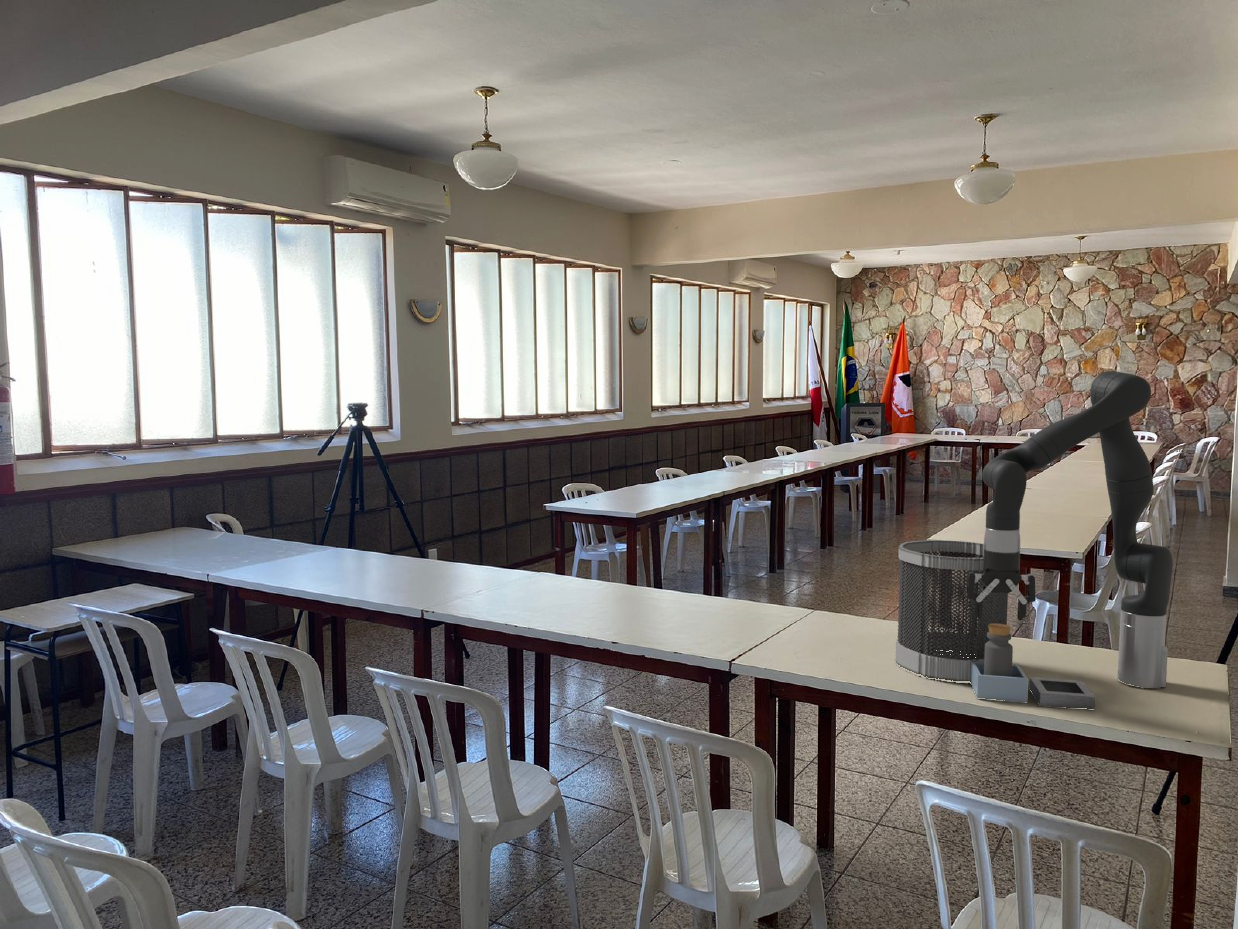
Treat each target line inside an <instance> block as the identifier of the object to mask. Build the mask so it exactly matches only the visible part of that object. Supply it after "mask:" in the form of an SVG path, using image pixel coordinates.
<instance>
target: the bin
mask: <svg viewBox="0 0 1238 929" xmlns="http://www.w3.org/2000/svg"><path fill="white" fill-rule="evenodd" d="M970 682H971V684H972V687H973V689H974V691H975V693H974V695H975V694H976V696H977V698H985V699H996V700H1003V701H1002V702H1004V700H1005V701H1014V702H1013V703H1017V702H1027V703H1028V700H1029V699H1028V696H1029V693H1028V692H1029V678H1028V676H1027V675H1026V673H1025V671H1024V670H1023V669H1022V668H1021V666H1020V665H1019V664H1012V677H1006V676H992V675H984V663H983V662H971V680H970ZM972 687H971V688H972ZM973 689H972V690H973ZM974 691H973V692H974ZM976 696H975V697H976ZM977 698H976V699H977Z"/></svg>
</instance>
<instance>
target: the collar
mask: <svg viewBox="0 0 1238 929" xmlns="http://www.w3.org/2000/svg"><path fill="white" fill-rule="evenodd" d="M1029 688H1030V690H1031V691H1032V693H1033V695H1034V696H1033V695H1032V696H1033V698H1034V697H1035V698H1036V699H1035V698H1034V699H1035V701H1036V700H1037V701H1036V702H1038V703H1039V704H1038V703H1037V704H1038V705H1040V706H1039V707H1043V706H1047V707H1046V708H1056V707H1066V708H1065V709H1068V708H1087V709H1095V710H1096V700H1097V697H1096V696H1095V695H1094V693H1093V692H1092V691H1091V690H1090V689H1089V688H1088V686H1087V685H1086V684H1085V683H1084V682H1083V681H1082V680H1074V679H1059V678H1058V679H1057V678H1046V677H1032V676H1029V682H1028V689H1029ZM1030 690H1029V691H1030ZM1032 693H1031V694H1032ZM1049 706H1050V707H1049Z"/></svg>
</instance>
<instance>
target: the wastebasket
mask: <svg viewBox="0 0 1238 929" xmlns="http://www.w3.org/2000/svg"><path fill="white" fill-rule="evenodd" d="M983 544H984V543H981V542H972V541H964V540H963V541H962V540H948V539H947V540H944V539H943V540H942V539H939V540H937V539H933V540H930V539H927V540H926V539H925V540H915V541H906V542H902V543H900V544H899V546H898V559H899V574H898V575H899V577H898V578H899V582H898V583H899V585H898V587H899V589H898V612H897V614H898V618H897V620H898V621H897V624H898V625H897V639H896V641H895V661H896V663H897V664H898V665H900V667H903V668H905V669H907V670H909V671H912V672H914V673H916V674H921V675H923V676H924V677H926V676H927V677H928V678H936V679H938V678H939V679H945V680H951V681H952V680H953V681H970V680H971V662H983V663H984V657H985V643H986V642H988V641H989V640H990V639H989V638H988V637H987V632H989V627H988V625H989V624H993V623H997V624H1005V625H1008V602H1009V601H1008V600H1009V598H1008V597H1009V593H1003V592H1000V593H994V592H992V591H991V592H990V593H989V594H988V595H987V596H985V598H984V599H983V600H982V618H978V615H976V614H975V601H974V600H972V599H969V598H968V596H967V595H966V593H967V582H968V573H969V572H970V571H972V572H973V573H982V572H983V565H984V545H983ZM984 584H985V583H984V581H983V580H982V578H980V579H979V580H978V582H976V583H975V585H974V594H977V593H978V592H979V591H980V589H981V588H982V586H983V585H984ZM936 650H937V651H936ZM940 650H943V651H940ZM949 650H952V651H953V652H952V651H949ZM946 651H949V652H946ZM960 651H961V652H960ZM940 654H941V655H940ZM942 654H943V655H942ZM950 654H951V655H950ZM960 654H961V655H960ZM966 654H967V655H966ZM970 654H971V655H970ZM974 654H975V655H974ZM963 657H964V658H963ZM967 657H969V658H967ZM975 657H976V658H975ZM896 663H895V664H896ZM900 667H899V668H900Z"/></svg>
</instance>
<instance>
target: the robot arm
mask: <svg viewBox="0 0 1238 929" xmlns="http://www.w3.org/2000/svg"><path fill="white" fill-rule="evenodd" d="M1089 391H1090V392H1089V397H1090V403H1091V406H1089V407H1087V408H1086V409H1084V410H1082V411H1080V412H1078V413H1075V414H1073V415H1070V416H1068V417H1065V418H1063V419H1060V420H1057V421H1055V422H1053V423H1050V424H1049V425H1047V426H1045V427H1043V428H1042V429H1040V430H1039V431H1037V432H1036V433H1035V434H1033V435H1032V436H1030V437H1029V438H1028V439H1026V440H1024V442H1023V443H1021V444H1019V445H1017V446H1015V447H1013V448H1010V449H1009V450H1007V451H1005V452H1003V453H1001V454H999V455H997V456H995V457H994V458H992V459H991V460H989V461H988V462H987V463H986V465H984V467H983V470H982V474H981V476H982V481H983V482H984V484H985V485H986V486H987V487H988V488H991V490H994V494H993V499H992V501H991V502H989V503H988V505H987V506H986V511H985V532H984V536H983V543H982V544H983V545H984V565H983V572H982V573H973V572H972V571H970V572H969V573H968V582H967V583H966V584H967V590H966V591H967V593H966V595H967V596H968V598H969V599H972V600H974V601H975V614H976V615H978V618H982V600H983V599H984V598H985V596H987V595H988V594H989V593H990V592H991V591H992V592H994V593H1000V592H1003V593H1008V594H1010V593H1013V594H1014V595H1015V597H1016V598H1017V599H1018V600H1019V602H1017V620H1018V621H1023V619H1025V618H1026V616H1027V605H1028V604H1029V603H1034V602H1036V599H1037V597H1036V577H1035V576H1034V574H1033V573H1027V574H1021V571H1020V568H1021V563H1020V562H1021V534H1020V532H1021V531H1020V528H1021V527H1020V525H1021V521H1020V520H1021V511H1020V510H1021V508H1022V505H1023V502H1024V498H1025V494H1026V488H1027V482H1028V480H1027V473H1029V472H1032V471H1038V470H1041V469H1043V468H1045V467H1046V466H1048V465H1050V464H1051V463H1052V462H1053V461H1055V460H1056V459H1058V458H1060V457H1061V456H1062V455H1064V454H1065V453H1066V452H1068V451H1069V450H1071V449H1072V448H1074V447H1076V446H1078V445H1080V443H1082V442H1084V441H1086V440H1087V439H1089V438H1091V437H1093V436H1096V434H1099V438H1100V445H1101V451H1102V458H1103V464H1104V471H1105V472H1104V473H1105V481H1106V487H1107V492H1108V493H1107V494H1108V499H1109V505H1110V512H1111V519H1112V533H1113V534H1112V535H1113V536H1112V537H1113V559H1114V566H1115V571H1116V573H1117V575H1118V576H1119V577H1120V578H1121V579H1122V580H1126V581H1130V582H1135V583H1140V584H1145V587H1144V591H1143V592H1142V593H1139V594H1138V593H1137V594H1131V595H1126V596H1124V597H1122V598H1121V603H1120V621H1119V638H1118V639H1119V642H1118V643H1119V644H1118V663H1117V664H1118V665H1117V680H1118V679H1119V680H1120V681H1122V682H1124V683H1126V684H1131V685H1134V686H1139V687H1143V688H1142V689H1144V688H1157V689H1159V688H1158V687H1167V674H1168V673H1167V672H1168V653H1169V650H1168V647H1167V646H1166V630H1167V629H1166V628H1167V627H1166V625H1167V624H1166V623H1167V612H1168V611H1167V609H1168V605H1169V601H1170V594H1171V585H1172V584H1171V583H1172V578H1173V577H1172V575H1173V567H1174V565H1173V564H1174V561H1173V555H1172V553H1171V551H1170V549H1169V548H1167V547H1165V546H1162V545H1154V544H1148V543H1142V542H1139V541H1138V538H1137V524H1138V522H1139V519H1140V518H1141V516H1142V515H1143V513H1144V512H1145V510H1146V508H1147V507H1148V505H1149V504H1150V502H1151V501H1152V498H1153V496H1154V493H1155V492H1154V491H1155V489H1154V488H1155V487H1154V479H1153V473H1152V467H1151V463H1150V460H1149V458H1148V456H1147V455H1146V452H1145V451H1144V449H1143V447H1142V444H1140V442H1139V439H1138V438H1137V437H1136V435H1135V432H1134V430H1133V427H1132V424H1131V419H1130V418H1131V417H1132V416H1135V415H1136V414H1138V413H1140V412H1142V410H1144V409H1145V408H1146V407H1147V405H1148V403H1149V402H1150V400H1151V396H1152V388H1151V385H1150V383H1149V382H1148V380H1146V379H1145V378H1143V377H1142V376H1141V375H1140V376H1139V375H1136V374H1132V373H1127V372H1122V371H1121V372H1120V371H1114V370H1107V371H1103V372H1101V373H1099V374H1098V375H1097V376H1096V377H1095V378H1094V379H1093V381H1092V383H1091V385H1090V390H1089ZM980 578H982V580H983V581H984V583H985V584H984V585H983V586H982V588H980V591H979V592H978V593H977V594H974V585H975V583H976V582H978V580H979V579H980ZM1022 581H1023V582H1024V584H1025V585H1026V586H1027V589H1026V591H1027V595H1025V596H1024V595H1023V594H1022V593H1021V591H1020V590H1019V589H1018V587H1017V586H1018V585H1019V584H1020V583H1021V582H1022ZM978 618H977V619H978Z"/></svg>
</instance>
